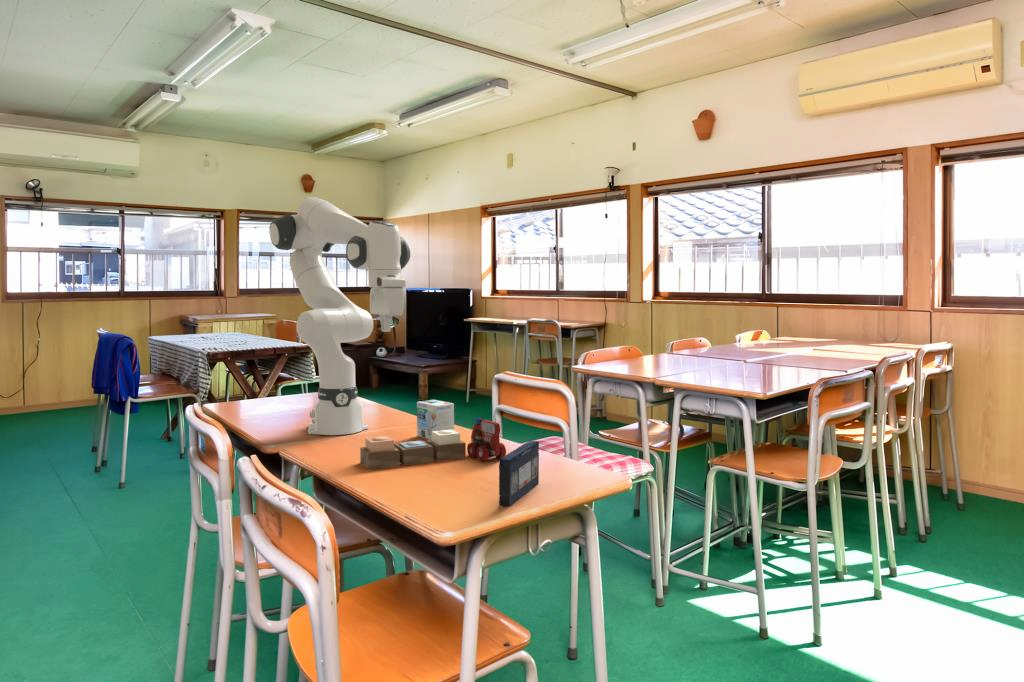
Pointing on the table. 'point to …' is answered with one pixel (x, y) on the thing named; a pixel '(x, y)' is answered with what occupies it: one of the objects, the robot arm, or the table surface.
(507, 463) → the vhs cassette tape
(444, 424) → the light bulb box
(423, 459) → the walnut bases
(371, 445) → the terracotta block
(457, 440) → the cream block
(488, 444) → the toy fire truck
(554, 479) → the table surface
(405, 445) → the slate block
